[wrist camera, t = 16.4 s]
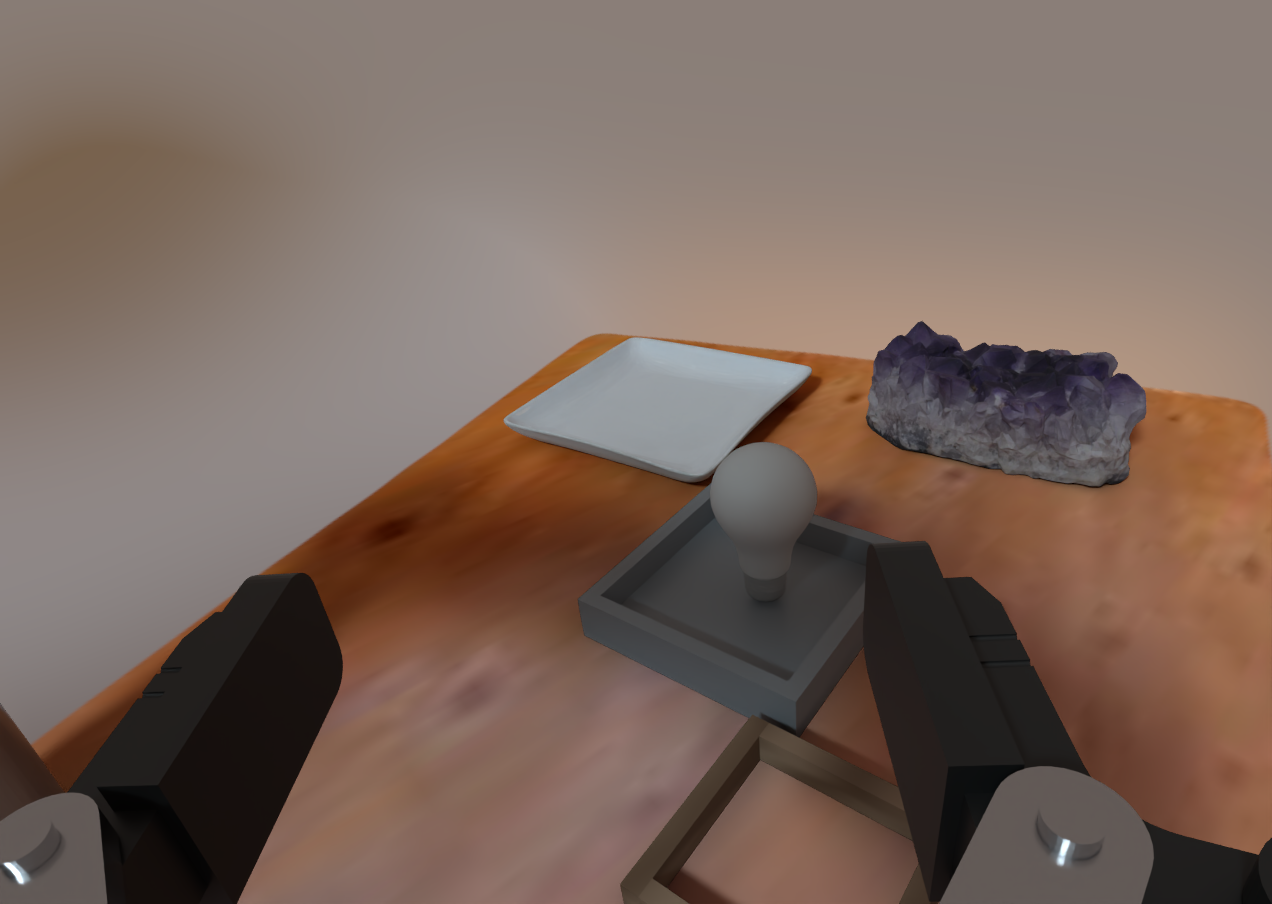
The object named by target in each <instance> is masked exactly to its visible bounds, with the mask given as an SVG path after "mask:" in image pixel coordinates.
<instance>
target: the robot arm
mask: <svg viewBox="0 0 1272 904" xmlns="http://www.w3.org/2000/svg"><path fill="white" fill-rule="evenodd" d="M863 643H864V653H865V660H866V666H867V671H868V675H869V679H870V683H871V686H872V690H873V694H874V697H875V701H876V705H877V709H878V712H879V716H880V720H881V724H882V727H883V731H884V735H885V739H886V742H887V746H888V750H889V753H890V757H891V761H892V765H893V768H894V772H895V776H896V780H897V783H898V787H899V791H900V795H901V798H902V802H903V806H904V809H905V813H906V817H907V821H908V824H909V828H910V832H911V836H912V839H913V843H914V847H915V851H916V854H917V858H918V862H919V865H920V869H921V873H922V877H923V880H924V884H925V888H926V892H927V895H928V899H929V902H940V903H939V904H1272V838H1271V839H1270V840H1269V841H1267V842H1266V843H1265V845H1264V847H1263V848H1262V850H1261V852H1260V854H1259V855H1257V854H1253V853H1249V852H1245V851H1241V850H1237V849H1233V848H1229V847H1225V846H1221V845H1218V844H1214V843H1210V842H1206V841H1202V840H1198V839H1194V838H1190V837H1186V836H1182V835H1179V834H1176V833H1172V832H1169V831H1166V830H1164V829H1161V828H1159V827H1156V826H1154V825H1152V824H1150V823H1148V822H1146V821H1144V820H1142V819H1141V818H1140V817H1139V815H1138V814H1137V812H1136V811H1135V810H1134V809H1133V808H1132V807H1131V806H1130V805H1129V804H1128V802H1127V801H1126V800H1124V799H1123V798H1122V797H1121V796H1120V795H1118V794H1117V793H1116V792H1115V791H1113V790H1112V789H1110V788H1109V787H1107V786H1106V785H1104V784H1103V783H1101V782H1099V781H1097V780H1095V779H1093V778H1092V777H1091V776H1090V775H1089V773H1088V771H1087V770H1086V768H1085V767H1084V765H1083V763H1082V761H1081V759H1080V757H1079V755H1078V753H1077V751H1076V749H1075V747H1074V745H1073V743H1072V741H1071V739H1070V737H1069V735H1068V733H1067V732H1066V730H1065V728H1064V726H1063V724H1062V722H1061V720H1060V718H1059V716H1058V714H1057V712H1056V710H1055V708H1054V706H1053V704H1052V702H1051V700H1050V698H1049V696H1048V694H1047V692H1046V690H1045V688H1044V686H1043V684H1042V682H1041V681H1040V679H1039V677H1038V675H1037V673H1036V671H1035V669H1034V667H1033V666H1031V665H1030V659H1029V657H1028V655H1027V653H1026V651H1025V649H1024V647H1023V645H1022V643H1021V641H1020V640H1017V633H1016V631H1015V629H1014V628H1013V626H1012V624H1011V622H1010V620H1009V618H1008V616H1007V614H1006V612H1005V610H1004V608H1003V606H1002V604H1001V602H1000V601H998V600H997V599H996V598H995V597H994V596H993V595H991V594H990V593H989V592H988V591H987V590H986V589H984V588H983V587H982V586H981V585H980V584H979V583H978V582H976V581H975V580H974V579H973V578H972V577H958V578H943V576H942V573H941V571H940V569H939V566H938V564H937V562H936V559H935V557H934V555H933V553H932V550H931V548H930V546H929V545H928V543H927V542H926V541H915V542H896V543H878V544H870V545H869V546H868V550H867V558H866V577H865V597H864V616H863ZM342 671H343V661H342V654H341V649H340V646H339V644H338V641H337V639H336V636H335V634H334V631H333V629H332V626H331V624H330V621H329V619H328V616H327V614H326V611H325V609H324V606H323V604H322V601H321V599H320V596H319V594H318V591H317V589H316V586H315V584H314V582H313V580H312V579H311V578H310V577H309V576H308V575H307V574H305V573H290V574H272V575H255V576H251V577H249V578H248V579H246V580H245V581H244V583H243V584H242V585H241V586H240V588H239V589H238V591H237V592H236V593H235V595H234V596H233V598H232V599H231V600H230V602H229V603H228V605H227V606H226V607H225V609H224V610H223V611H222V612H215V613H214V614H213V615H212V616H210V617H209V618H208V619H207V620H205V621H204V622H203V623H202V624H200V625H199V626H198V627H197V628H195V629H194V630H193V631H192V632H190V633H189V634H188V635H187V636H185V637H184V638H183V639H182V640H181V642H180V643H179V644H178V646H177V647H176V648H175V650H174V651H173V652H172V654H171V655H170V656H169V658H168V659H167V660H166V662H165V663H164V664H163V666H162V667H161V673H160V674H156V675H155V676H154V678H153V679H152V680H151V682H150V683H149V684H148V686H147V687H146V688H145V690H144V691H143V692H142V693H143V697H142V698H141V699H137V700H136V702H135V703H134V704H133V706H132V707H131V708H130V710H129V711H128V712H127V714H126V715H125V716H124V718H123V719H122V720H121V722H120V723H119V724H118V726H117V727H116V728H115V730H114V731H113V732H112V734H111V735H110V736H109V738H108V739H107V740H106V742H105V743H104V744H103V746H102V747H101V748H100V750H99V751H98V752H97V754H96V755H95V756H94V758H93V759H92V760H91V762H90V763H89V764H88V766H87V767H86V768H85V770H84V771H83V772H82V774H81V775H80V776H79V778H78V779H77V780H76V782H75V783H74V784H73V786H72V787H71V788H70V790H69V791H68V792H67V793H65V792H64V791H63V789H62V788H61V787H60V785H59V784H58V782H57V781H56V780H55V778H54V777H53V776H52V774H51V773H50V771H49V770H48V769H47V767H46V765H45V764H44V762H43V761H42V760H41V758H40V757H39V756H38V754H37V753H36V751H35V750H34V749H33V747H32V746H31V745H30V743H29V742H28V741H27V739H26V738H25V736H24V735H23V734H22V732H21V731H20V729H19V728H18V727H17V725H16V724H15V723H14V721H13V720H12V719H11V717H10V716H9V714H8V713H7V712H6V710H5V709H4V708H3V706H2V705H1V703H0V904H237V902H238V900H239V898H240V896H241V894H242V892H243V890H244V887H245V885H246V883H247V881H248V879H249V877H250V875H251V873H252V871H253V869H254V867H255V864H256V862H257V860H258V858H259V856H260V854H261V852H262V850H263V848H264V846H265V844H266V841H267V839H268V837H269V835H270V833H271V831H272V829H273V827H274V825H275V823H276V821H277V818H278V816H279V814H280V812H281V810H282V808H283V806H284V804H285V802H286V800H287V798H288V795H289V793H290V791H291V789H292V787H293V785H294V783H295V781H296V779H297V777H298V775H299V772H300V770H301V768H302V766H303V764H304V762H305V760H306V758H307V756H308V754H309V751H310V749H311V747H312V745H313V743H314V741H315V739H316V737H317V735H318V733H319V731H320V728H321V726H322V724H323V722H324V720H325V718H326V716H327V714H328V712H329V710H330V708H331V705H332V703H333V701H334V699H335V697H336V695H337V693H338V690H339V687H340V684H341V679H342Z"/></svg>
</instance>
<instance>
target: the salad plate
mask: <svg viewBox="0 0 1272 904" xmlns="http://www.w3.org/2000/svg"><path fill="white" fill-rule="evenodd" d="M811 373H812V369H811V368H810V367H808V366H804V365H799V364H794V363H788V362H782V361H777V360H771V359H766V358H761V357H755V356H749V355H743V354H737V353H732V352H727V351H721V350H715V349H708V348H703V347H697V346H691V345H685V344H679V343H673V342H667V341H660V340H654V339H647V338H630V339H628V340H626V341H624V342H622V343H621V344H619V345H617V346H616V347H614V348H613V349H611V350H609V351H608V352H606V353H605V354H603V355H601V356H600V357H598V358H597V359H595V360H593V361H592V362H590V363H589V364H587V365H586V366H584V367H582V368H581V369H579V370H578V371H576V372H575V373H573V374H571V375H570V376H568V377H567V378H565V379H563V380H562V381H560V382H559V383H557V384H556V385H554V386H553V387H551V388H549V389H548V390H546V391H545V392H543V393H542V394H540V395H539V396H537V397H536V398H534V399H532V400H531V401H529V402H528V403H526V404H525V405H523V406H522V407H520V408H519V409H517V410H515V411H514V412H512V413H511V414H509V415H508V416H506V417H505V418H504V423H505V424H506V425H507V426H508V427H510V428H511V429H513V430H514V431H516V432H518V433H520V434H522V435H524V436H527V437H530V438H533V439H536V440H539V441H542V442H546V443H550V444H554V445H558V446H562V447H566V448H570V449H573V450H577V451H581V452H584V453H587V454H591V455H594V456H598V457H601V458H605V459H608V460H612V461H615V462H619V463H622V464H626V465H629V466H632V467H636V468H639V469H643V470H646V471H650V472H653V473H656V474H659V475H662V476H666V477H669V478H672V479H675V480H679V481H684V482H699V481H703V480H705V479H707V478H709V477H710V476H711V475H712V474H713V473H714V472H715V471H716V469H717V468H718V466H719V465H720V464H721V462H722V461H723V460H724V459H725V458H726V457H727V456H728V455H729V454H730V453H731V452H732V451H733V450H734V448H735V447H736V446H737V445H738V444H739V443H740V442H741V441H742V440H743V439H744V438H745V437H746V436H747V435H748V434H749V433H750V432H751V431H752V430H753V429H754V428H755V427H756V426H757V425H758V424H759V423H760V422H761V421H762V420H763V419H765V418H766V417H767V416H768V415H769V414H770V413H771V412H772V411H773V410H775V409H776V408H777V407H778V406H779V405H780V404H781V403H783V402H784V401H785V400H786V399H787V398H789V397H790V396H791V395H792V394H793V393H795V392H796V391H797V390H798V389H799V388H800V387H801V386H802V385H803V384H804V383H805V381H806V380H807V379H808V377H809V376H810V375H811Z"/></svg>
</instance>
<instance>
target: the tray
mask: <svg viewBox="0 0 1272 904" xmlns="http://www.w3.org/2000/svg"><path fill="white" fill-rule="evenodd" d="M710 489H711V484H710V485H708V486H707V487H706V488H705V489H704V490H703V491H701V492H700V493H699V494H698V495H697V496H696V497H695V498H693V499H692V500H691V501H690V502H689V503H688V504H687V505H685V506H684V507H683V508H682V509H681V510H680V511H678V512H677V513H676V514H675V515H674V516H673V517H672V518H670V519H669V520H668V521H667V522H666V523H665V524H663V525H662V526H661V527H660V528H659V529H658V530H657V531H655V532H654V533H653V534H652V535H651V536H650V537H649V538H647V539H646V540H645V541H644V542H643V543H642V544H640V545H639V546H638V547H637V548H636V549H635V550H634V551H632V552H631V553H630V554H629V555H628V556H627V557H625V558H624V559H623V560H622V561H621V562H620V563H619V564H617V565H616V566H615V567H614V568H613V569H612V570H611V571H609V572H608V573H607V574H606V575H605V576H604V577H602V578H601V579H600V580H599V581H598V582H597V583H596V584H594V585H593V586H592V587H591V588H590V589H589V590H587V591H586V592H585V593H584V594H583V595H582V596H581V597H579V598H578V604H579V610H580V615H581V620H582V626H583V631H584V635H585V636H587V637H589V638H591V639H593V640H595V641H597V642H599V643H601V644H603V645H605V646H607V647H609V648H611V649H613V650H615V651H617V652H619V653H621V654H623V655H625V656H627V657H629V658H631V659H633V660H635V661H637V662H639V663H641V664H643V665H645V666H647V667H649V668H651V669H653V670H655V671H656V672H658V673H660V674H662V675H664V676H666V677H668V678H670V679H672V680H674V681H676V682H678V683H680V684H682V685H684V686H686V687H688V688H690V689H692V690H694V691H696V692H698V693H700V694H702V695H704V696H706V697H708V698H710V699H712V700H714V701H716V702H718V703H720V704H722V705H724V706H726V707H728V708H730V709H732V710H734V711H736V712H738V713H740V714H742V715H744V716H746V717H748V718H750V717H751V715H754V716H756V717H758V718H760V719H762V720H764V721H766V722H768V723H771V724H773V725H775V726H777V727H779V728H781V729H783V730H785V731H787V732H789V733H791V734H793V735H795V736H797V737H800V736H801V734H802V733H803V731H804V730H805V728H806V727H807V726H808V724H809V723H810V721H811V720H812V718H813V717H814V716H815V714H816V713H817V711H818V710H819V708H820V707H821V706H822V704H823V703H824V701H825V700H826V699H827V697H828V696H829V694H830V693H831V691H832V690H833V689H834V687H835V686H836V684H837V683H838V681H839V680H840V679H841V677H842V676H843V674H844V673H845V672H846V670H847V669H848V667H849V666H850V664H851V663H852V662H853V660H854V659H855V657H856V656H857V654H858V653H859V652H860V650H861V649H862V647H863V646H864V643H863V616H864V597H865V577H866V558H867V550H868V546H869V545H870V544H878V543H896V542H900V541H897V540H894V539H890V538H887V537H884V536H881V535H878V534H875V533H871V532H868V531H865V530H862V529H859V528H856V527H852V526H849V525H846V524H843V523H840V522H837V521H833V520H830V519H827V518H824V517H821V516H818V515H814V514H813V517H812V519H811V521H810V522H809V524H808V525H807V527H806V528H805V530H804V531H803V532H802V534H801V535H800V536H799V538H798V539H797V540H796V542H795V544H794V546H793V550H792V554H791V564H790V567H789V569H788V571H787V579H786V580H787V582H786V590H785V592H784V594H783V595H782V596H781V597H780V598H778V599H776V600H774V601H768V602H764V601H758V600H756V599H754V598H752V597H751V596H750V595H749V594H748V593H747V591H746V587H745V581H744V573H743V570H742V569H741V567H740V564H739V557H738V553H737V549H736V546H735V545H734V543H733V541H732V539H731V538H730V537H729V536H728V535H727V534H726V532H725V531H724V530H723V528H722V527H721V526H720V524H719V523H718V521H717V520H716V518H715V515H714V513H713V510H712V507H711V500H710Z"/></svg>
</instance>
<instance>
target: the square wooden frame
mask: <svg viewBox="0 0 1272 904" xmlns="http://www.w3.org/2000/svg"><path fill="white" fill-rule="evenodd" d="M759 760H762V761H764V762H765V763H767V764H769V765H771V766H773V767H775V768H777V769H779V770H781V771H782V772H784V773H786V774H788V775H790V776H792V777H794V778H796V779H797V780H799V781H801V782H803V783H805V784H807V785H809V786H811V787H812V788H814V789H816V790H818V791H820V792H822V793H824V794H826V795H827V796H829V797H831V798H833V799H835V800H837V801H839V802H841V803H842V804H844V805H846V806H848V807H850V808H852V809H854V810H856V811H857V812H859V813H861V814H863V815H865V816H867V817H869V818H871V819H873V820H874V821H876V822H878V823H880V824H882V825H884V826H886V827H888V828H889V829H891V830H893V831H895V832H897V833H899V834H901V835H903V836H904V837H906V838H908V839H910V840H912V841H913V839H912V836H911V832H910V828H909V824H908V821H907V817H906V813H905V809H904V806H903V802H902V798H901V795H900V791H899V787H897V786H895V785H893V784H891V783H889V782H887V781H885V780H883V779H881V778H879V777H877V776H875V775H873V774H871V773H869V772H867V771H865V770H863V769H861V768H859V767H857V766H855V765H853V764H851V763H849V762H847V761H845V760H843V759H841V758H839V757H837V756H835V755H833V754H831V753H829V752H827V751H825V750H823V749H821V748H819V747H817V746H815V745H813V744H811V743H809V742H807V741H805V740H803V739H801V738H799V737H797V736H795V735H793V734H791V733H789V732H787V731H785V730H783V729H781V728H779V727H777V726H775V725H773V724H771V723H768V722H766V721H764V720H762V719H760V718H758V717H756V716H754V715H751V717H750V718H749V719H748V721H747V722H746V723H745V724H744V726H743V727H742V728H741V730H740V731H739V732H738V733H737V735H736V736H735V737H734V739H733V740H732V741H731V742H730V744H729V745H728V746H727V748H726V749H725V750H724V751H723V753H722V754H721V755H720V757H719V758H718V759H717V760H716V762H715V763H714V764H713V766H712V767H711V768H710V769H709V771H708V772H707V773H706V775H705V776H704V777H703V778H702V780H701V781H700V782H699V783H698V785H697V786H696V787H695V789H694V790H693V791H692V792H691V794H690V795H689V796H688V798H687V799H686V800H685V801H684V803H683V804H682V805H681V807H680V808H679V809H678V810H677V812H676V813H675V814H674V816H673V817H672V818H671V819H670V821H669V822H668V823H667V825H666V826H665V827H664V828H663V830H662V831H661V832H660V834H659V835H658V836H657V837H656V839H655V840H654V841H653V843H652V844H651V845H650V846H649V848H648V849H647V850H646V851H645V853H644V854H643V855H642V857H641V858H640V859H639V860H638V862H637V863H636V864H635V866H634V867H633V868H632V869H631V871H630V872H629V873H628V875H627V876H626V877H625V878H624V880H623V881H622V882H621V884H620V886H621V891H622V896H623V901H624V904H689V903H687V902H686V901H684V900H683V899H681V898H680V897H679V896H677V895H676V894H674V893H673V892H671V891H670V890H668V889H667V886H668V885H669V884H670V882H671V881H672V880H673V878H674V877H675V876H676V874H677V873H678V871H679V870H680V869H681V867H682V866H683V865H684V863H685V862H686V860H687V859H688V858H689V856H690V855H691V854H692V852H693V851H694V850H695V848H696V847H697V845H698V844H699V843H700V841H701V840H702V839H703V837H704V836H705V834H706V833H707V832H708V830H709V829H710V828H711V826H712V825H713V823H714V822H715V821H716V819H717V818H718V817H719V815H720V814H721V813H722V811H723V810H724V808H725V807H726V806H727V804H728V803H729V802H730V800H731V799H732V797H733V796H734V795H735V793H736V792H737V791H738V789H739V788H740V786H741V785H742V784H743V782H744V781H745V780H746V778H747V777H748V776H749V774H750V773H751V771H752V770H753V769H754V767H755V766H756V765H757V763H758V762H759ZM937 903H938V902H929V899H928V895H927V892H926V888H925V884H924V880H923V877H922V873H921V869H920V865H919V864H918V866H917V868H916V870H915V872H914V874H913V876H912V878H911V880H910V882H909V884H908V886H907V888H906V890H905V893H904V895H903V897H902V899H901V901H900V903H899V904H937Z"/></svg>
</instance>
